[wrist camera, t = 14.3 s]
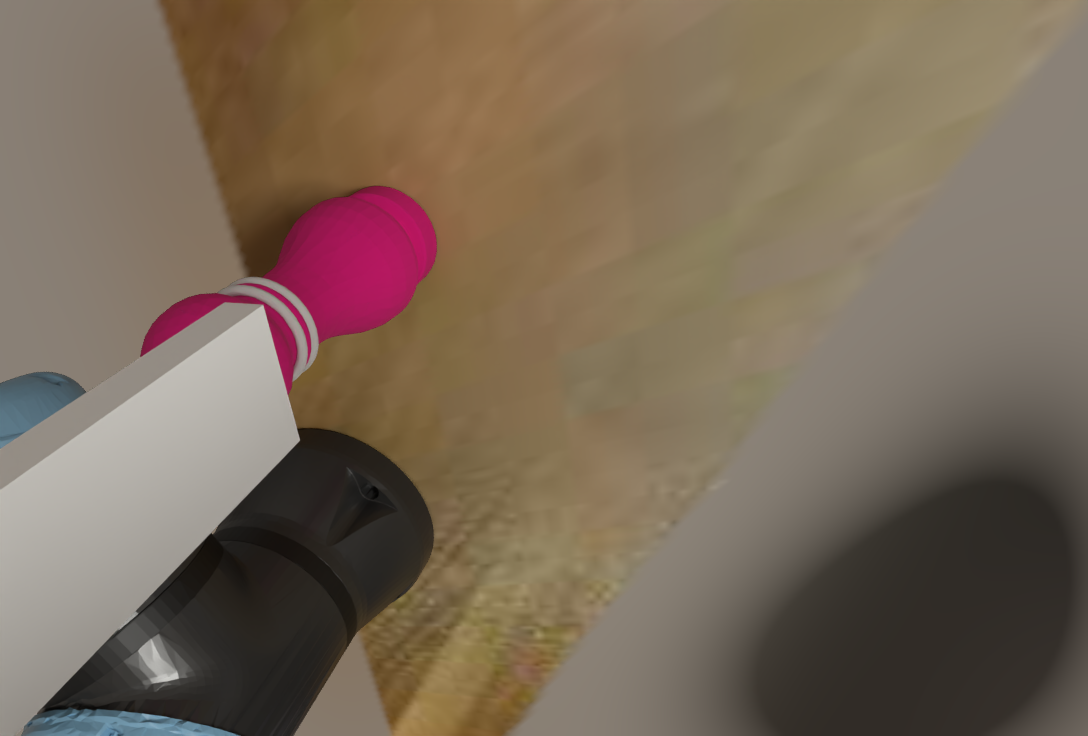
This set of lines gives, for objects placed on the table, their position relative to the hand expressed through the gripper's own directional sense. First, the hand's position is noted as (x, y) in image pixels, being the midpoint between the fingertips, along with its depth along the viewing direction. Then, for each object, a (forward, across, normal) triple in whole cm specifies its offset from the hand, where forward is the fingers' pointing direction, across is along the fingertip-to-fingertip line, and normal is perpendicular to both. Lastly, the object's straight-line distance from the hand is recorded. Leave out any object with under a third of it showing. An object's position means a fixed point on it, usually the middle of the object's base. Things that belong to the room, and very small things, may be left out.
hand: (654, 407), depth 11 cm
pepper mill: (+29, -20, -8) cm, 36 cm away
